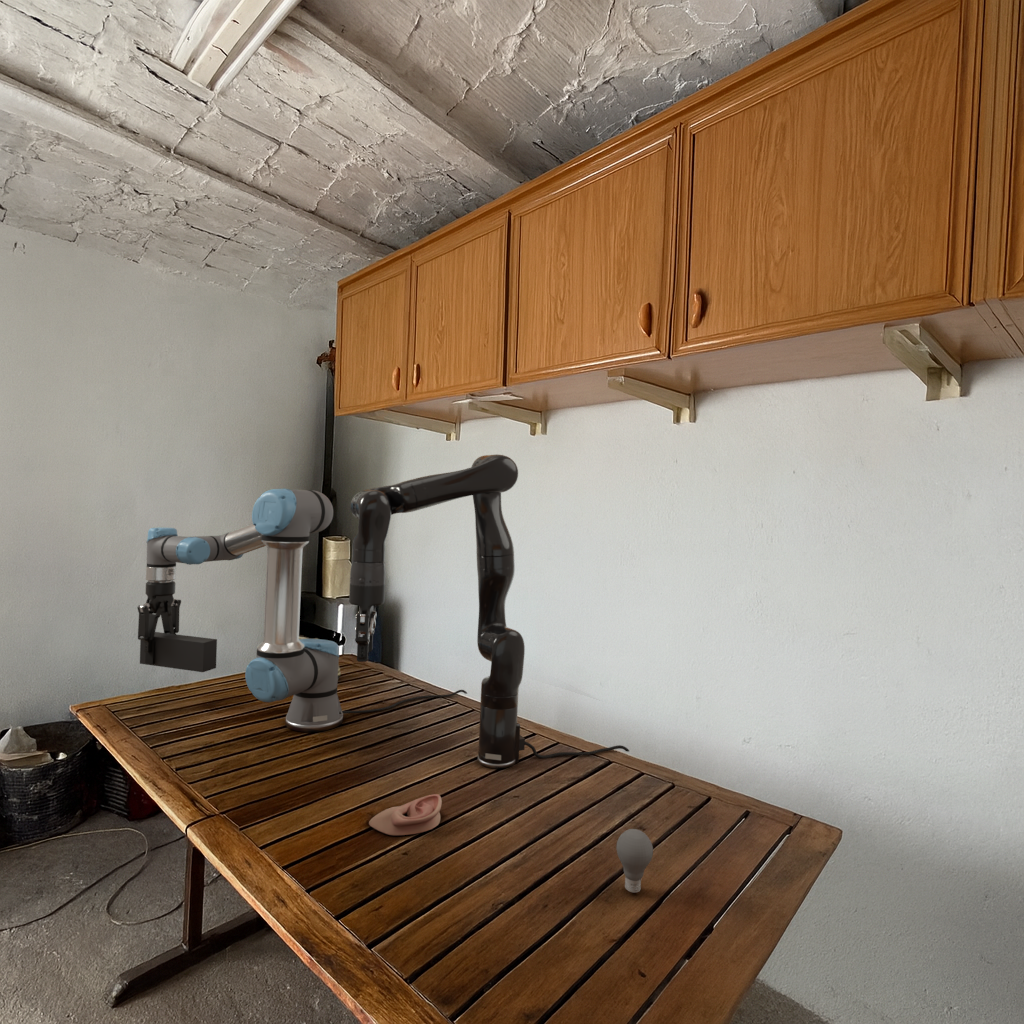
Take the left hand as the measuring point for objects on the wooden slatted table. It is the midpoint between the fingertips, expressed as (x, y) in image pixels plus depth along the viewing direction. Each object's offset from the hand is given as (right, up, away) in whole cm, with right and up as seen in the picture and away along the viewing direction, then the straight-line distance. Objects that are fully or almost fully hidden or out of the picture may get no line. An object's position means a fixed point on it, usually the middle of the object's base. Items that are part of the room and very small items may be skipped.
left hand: (158, 660), depth 183 cm
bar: (+7, -1, -2) cm, 7 cm away
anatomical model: (+82, -18, -59) cm, 102 cm away
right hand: (+71, +12, -46) cm, 85 cm away
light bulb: (+123, -20, -78) cm, 147 cm away
